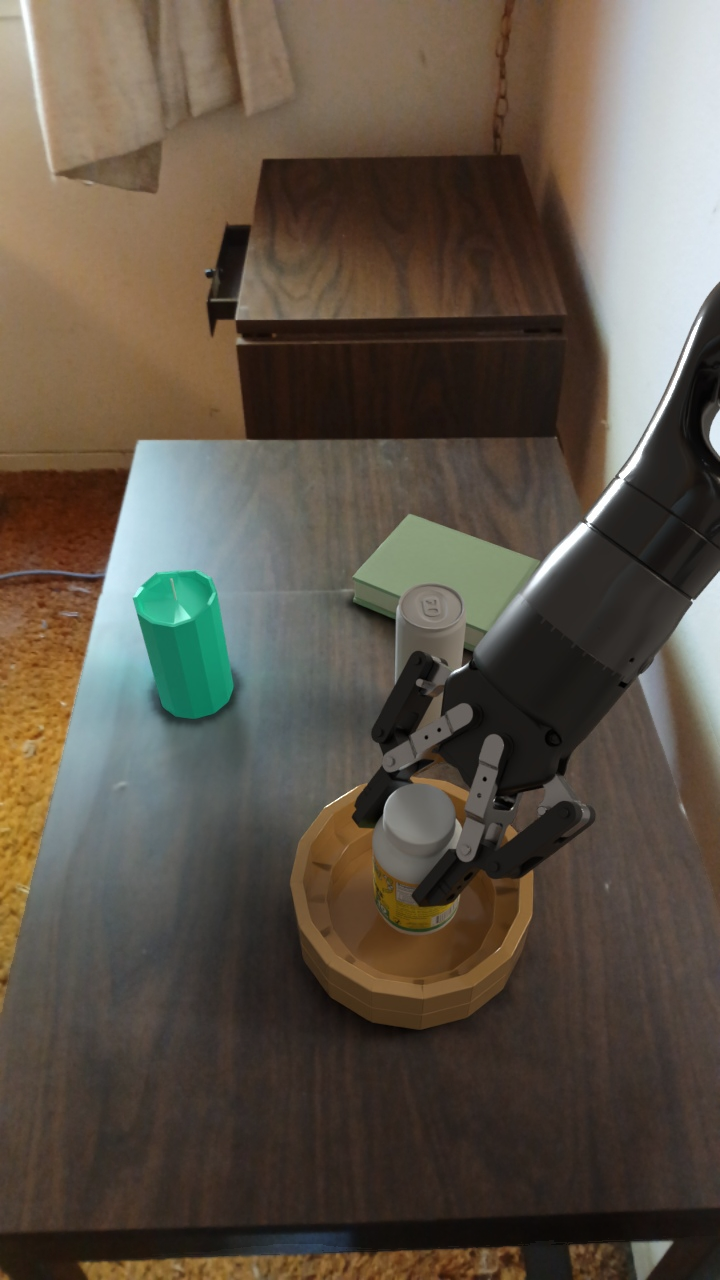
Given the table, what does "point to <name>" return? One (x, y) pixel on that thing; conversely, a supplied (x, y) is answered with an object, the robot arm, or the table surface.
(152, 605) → the candle
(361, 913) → the bowl
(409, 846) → the supplement bottle
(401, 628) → the beverage can
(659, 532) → the robot arm
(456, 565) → the book
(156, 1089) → the table surface
